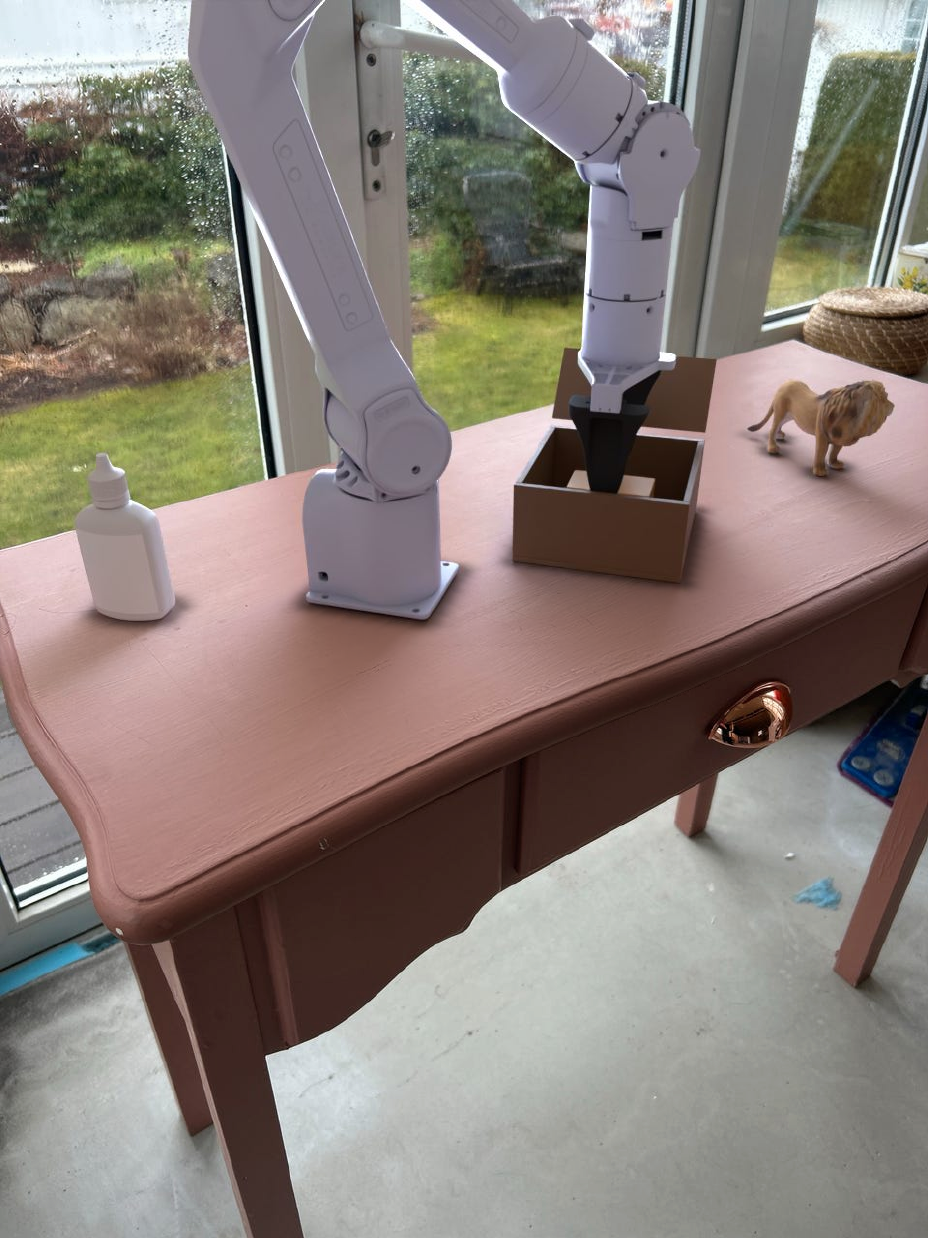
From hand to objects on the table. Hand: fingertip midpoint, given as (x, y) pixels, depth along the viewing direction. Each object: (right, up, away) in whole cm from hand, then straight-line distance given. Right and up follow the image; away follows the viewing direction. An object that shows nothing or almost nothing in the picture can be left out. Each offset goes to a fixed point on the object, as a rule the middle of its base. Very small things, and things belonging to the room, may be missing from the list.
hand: (611, 471), depth 74 cm
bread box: (0, -5, +4) cm, 6 cm away
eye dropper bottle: (-35, -11, -5) cm, 37 cm away
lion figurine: (+22, +4, +17) cm, 28 cm away
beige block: (0, -5, +3) cm, 6 cm away
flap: (+3, +8, +6) cm, 10 cm away
